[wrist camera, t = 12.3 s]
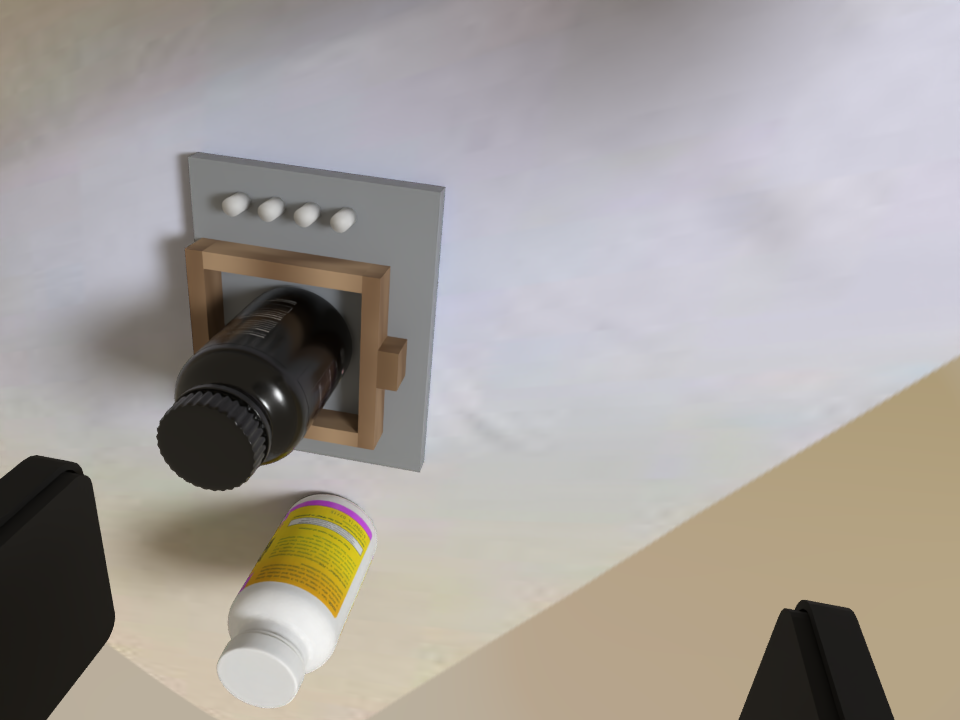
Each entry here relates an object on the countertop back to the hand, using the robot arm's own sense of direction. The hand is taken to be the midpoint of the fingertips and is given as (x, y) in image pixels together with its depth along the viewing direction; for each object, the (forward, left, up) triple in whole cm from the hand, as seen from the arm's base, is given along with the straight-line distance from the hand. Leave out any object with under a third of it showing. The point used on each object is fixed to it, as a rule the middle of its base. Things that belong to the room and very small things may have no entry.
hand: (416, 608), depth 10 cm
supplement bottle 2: (+12, +28, -32) cm, 44 cm away
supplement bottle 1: (+14, +13, -31) cm, 36 cm away
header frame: (+14, +13, -31) cm, 36 cm away
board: (+13, +12, -32) cm, 37 cm away
